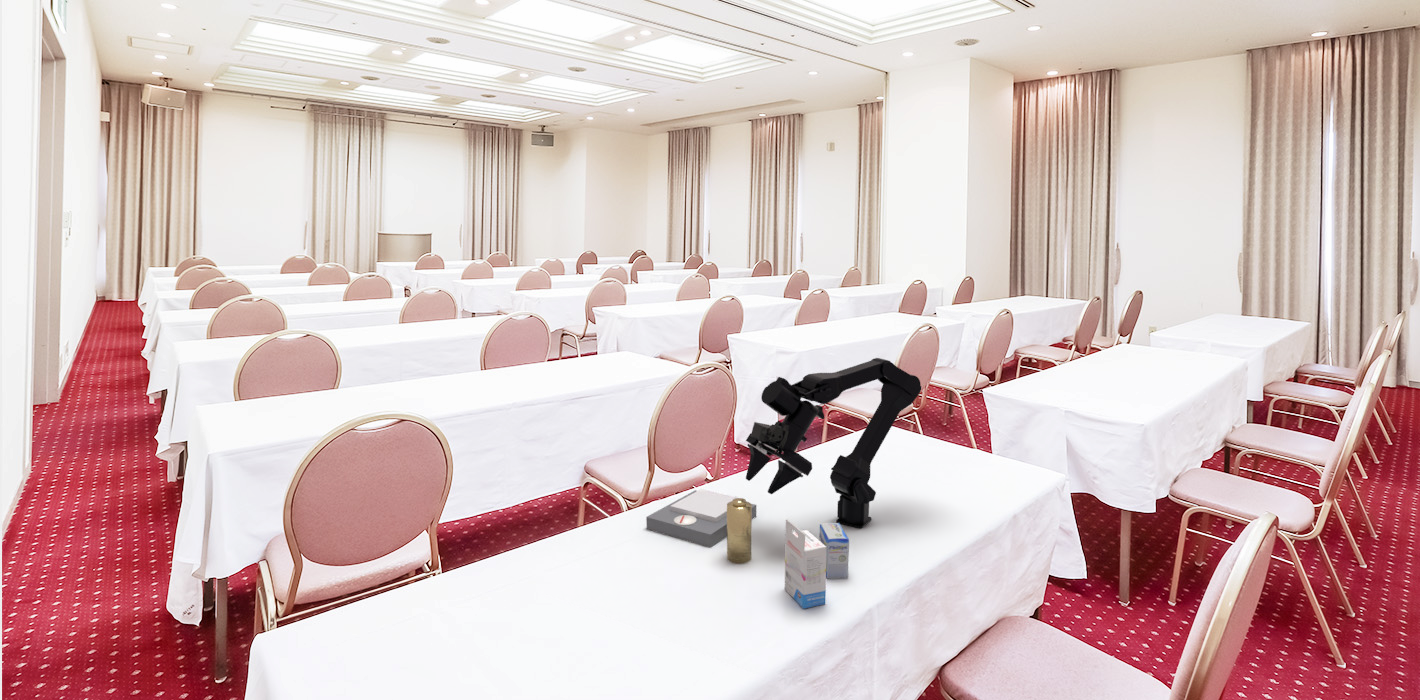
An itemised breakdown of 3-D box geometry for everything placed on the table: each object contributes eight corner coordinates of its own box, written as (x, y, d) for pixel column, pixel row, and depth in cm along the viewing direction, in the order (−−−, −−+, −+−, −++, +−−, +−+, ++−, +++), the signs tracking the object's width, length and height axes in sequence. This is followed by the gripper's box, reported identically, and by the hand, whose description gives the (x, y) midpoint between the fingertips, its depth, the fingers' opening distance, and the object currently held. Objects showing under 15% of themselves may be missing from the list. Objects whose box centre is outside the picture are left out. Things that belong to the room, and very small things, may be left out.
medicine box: (818, 561, 158) (818, 522, 156) (838, 560, 158) (839, 522, 157) (826, 579, 150) (827, 539, 148) (848, 578, 150) (849, 538, 149)
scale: (756, 516, 181) (756, 500, 180) (710, 547, 165) (710, 529, 164) (695, 501, 191) (695, 485, 190) (646, 529, 175) (646, 512, 174)
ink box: (827, 604, 140) (828, 531, 138) (803, 609, 139) (804, 535, 136) (806, 584, 148) (807, 514, 146) (783, 588, 147) (784, 517, 144)
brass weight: (755, 556, 160) (756, 499, 158) (743, 565, 156) (743, 507, 154) (735, 550, 163) (735, 494, 161) (722, 559, 159) (722, 502, 156)
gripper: (748, 398, 169) (712, 457, 167) (795, 418, 153) (755, 483, 151) (781, 422, 175) (746, 479, 173) (829, 443, 158) (791, 507, 156)
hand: (758, 486), depth 163 cm, fingers open, 9 cm apart
